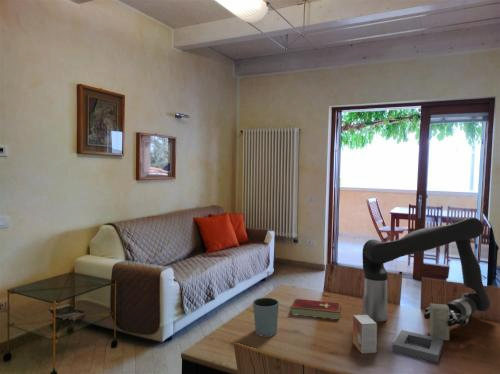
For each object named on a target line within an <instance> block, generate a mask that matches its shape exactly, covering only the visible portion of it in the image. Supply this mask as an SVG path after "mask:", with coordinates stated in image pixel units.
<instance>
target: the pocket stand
mask: <svg viewBox="0 0 500 374" xmlns="http://www.w3.org/2000/svg"><path fill="white" fill-rule="evenodd" d="M410 343H413V344H410ZM414 344H417V345H418V344H419V345H422V347H421V346H417V345H414ZM423 345H424V346H426V348H425V347H423ZM443 346H444V340H443V339H441V338H436V337H432V336H430V335H426V334H421V333H416V332H412V331H408V330H404V329H401V330H400V331H399V332H398V335H397V337H396V339H395V340H394V342H393V343H392V352H395V353H398V354H402V355H406V356H411V357H413V358H414V357H415V358H417V359H418V358H419V359H422V360H426V361H430V362H434V363H439V360H440V356H441V354H442V351H443ZM427 347H429V348H427Z"/></svg>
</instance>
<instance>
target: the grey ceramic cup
mask: <svg viewBox="0 0 500 374" xmlns="http://www.w3.org/2000/svg"><path fill="white" fill-rule="evenodd" d="M279 305H280V302H279V300H278V299H276V298H272V297H259V298H255V299H254V300H253V301H252V308H253V316H254V317H253V319H254V321H253V322H254V328H255V329H254V332H255V333H257V334H256V335H258V334H259V335H258V336H260V335H262V336H261V337H264V336H269V337H272V336H271V335H273V336H275V335H277V332H278V320H279V319H278V317H279V307H280V306H279ZM274 334H275V335H274Z"/></svg>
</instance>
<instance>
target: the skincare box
mask: <svg viewBox="0 0 500 374" xmlns="http://www.w3.org/2000/svg"><path fill="white" fill-rule="evenodd" d="M446 304H447V303H433V302H429V307H430V318H429V336H432V337H436V338H441V339H443V341H450V327H449V326H448V325H447V324H448V320H449V307H448V305H446Z"/></svg>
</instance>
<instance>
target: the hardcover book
mask: <svg viewBox="0 0 500 374" xmlns="http://www.w3.org/2000/svg"><path fill="white" fill-rule="evenodd" d="M290 310H291V313H292V314H298V315H305V316H304V317H307V316H315V317H314V318H316V317H323V318H322V319H326V318H330V319H329V320H335V319H340V314H339V313H340V312H341V311H342V302H337V301H336V302H335V301H322V300H312V299H302V298H294V299H293V301H292V303H291V305H290ZM340 310H341V311H340Z"/></svg>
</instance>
